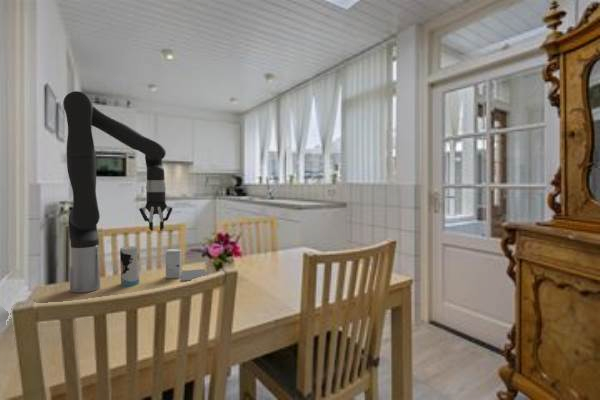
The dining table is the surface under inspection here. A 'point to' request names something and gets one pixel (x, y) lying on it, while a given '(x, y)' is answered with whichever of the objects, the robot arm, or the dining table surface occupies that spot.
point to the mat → (192, 274)
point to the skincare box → (173, 263)
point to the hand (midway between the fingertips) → (156, 230)
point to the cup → (129, 265)
